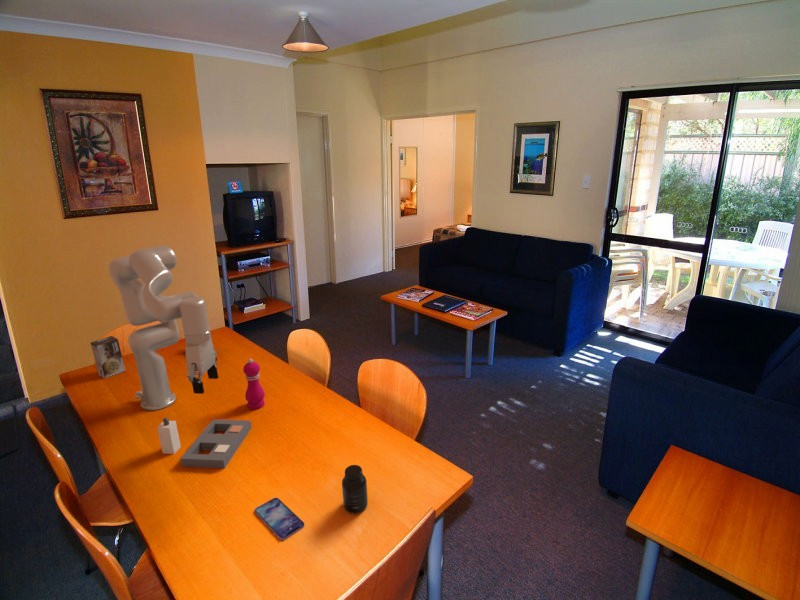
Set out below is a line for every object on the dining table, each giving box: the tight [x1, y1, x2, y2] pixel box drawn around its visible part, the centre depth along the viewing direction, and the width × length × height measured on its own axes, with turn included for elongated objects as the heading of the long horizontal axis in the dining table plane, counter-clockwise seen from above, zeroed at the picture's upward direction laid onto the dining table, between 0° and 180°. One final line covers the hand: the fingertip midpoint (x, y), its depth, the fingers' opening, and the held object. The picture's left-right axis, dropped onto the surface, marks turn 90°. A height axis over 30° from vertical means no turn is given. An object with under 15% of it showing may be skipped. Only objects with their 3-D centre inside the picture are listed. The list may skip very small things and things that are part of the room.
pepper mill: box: [242, 358, 266, 410], centre depth 177 cm, size 7×7×20 cm
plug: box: [157, 417, 181, 455], centre depth 153 cm, size 4×4×12 cm
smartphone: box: [254, 497, 306, 541], centre depth 125 cm, size 7×1×15 cm
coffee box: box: [90, 335, 126, 379], centre depth 206 cm, size 9×6×16 cm
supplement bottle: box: [341, 464, 369, 514], centre depth 128 cm, size 7×7×12 cm
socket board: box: [180, 418, 252, 469], centre depth 156 cm, size 14×22×3 cm, turn 175°
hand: (206, 385), depth 149 cm, fingers open, 9 cm apart
